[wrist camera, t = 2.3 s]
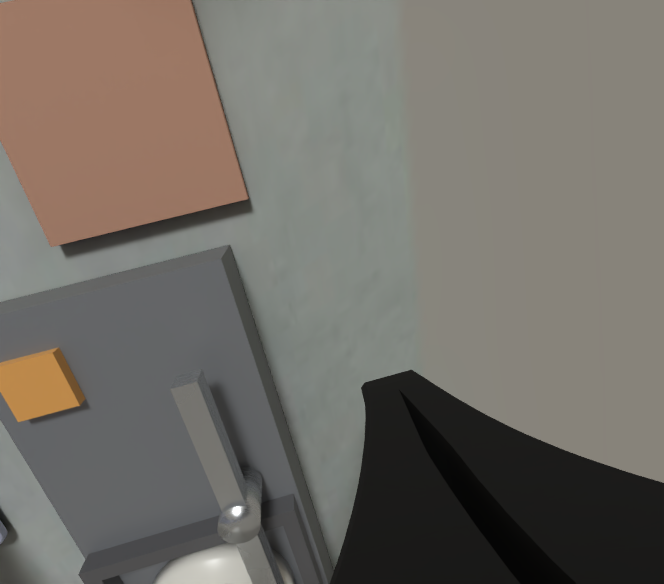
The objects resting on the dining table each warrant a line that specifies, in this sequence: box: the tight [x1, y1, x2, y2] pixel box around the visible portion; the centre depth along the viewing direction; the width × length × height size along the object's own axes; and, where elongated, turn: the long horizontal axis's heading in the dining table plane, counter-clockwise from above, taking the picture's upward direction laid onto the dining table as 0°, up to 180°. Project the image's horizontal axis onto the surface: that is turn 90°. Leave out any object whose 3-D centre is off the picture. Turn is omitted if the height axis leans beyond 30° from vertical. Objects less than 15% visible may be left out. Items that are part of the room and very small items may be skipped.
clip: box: [170, 369, 285, 584], centre depth 14 cm, size 1×14×2 cm, turn 13°
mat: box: [0, 0, 249, 247], centre depth 13 cm, size 7×7×1 cm
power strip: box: [0, 245, 334, 584], centre depth 16 cm, size 9×20×3 cm, turn 13°
